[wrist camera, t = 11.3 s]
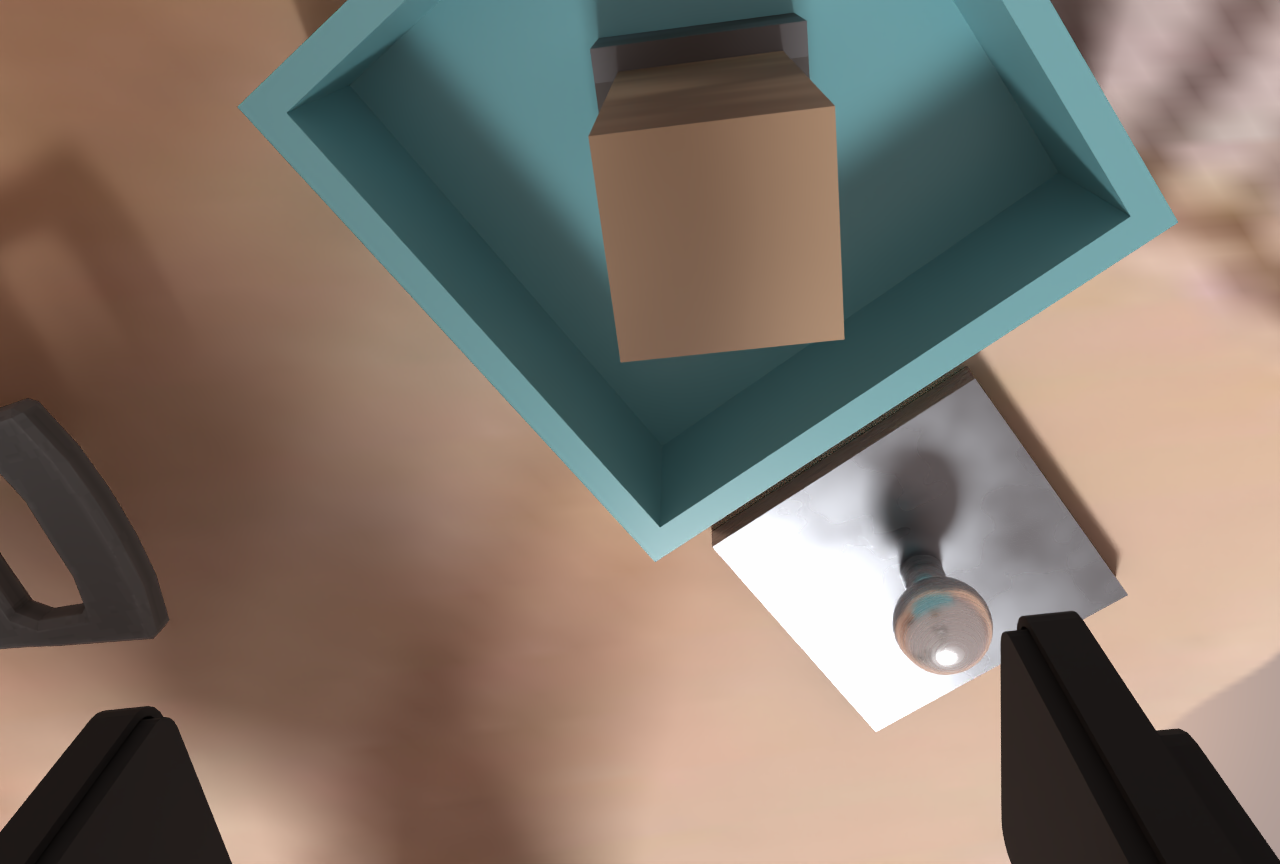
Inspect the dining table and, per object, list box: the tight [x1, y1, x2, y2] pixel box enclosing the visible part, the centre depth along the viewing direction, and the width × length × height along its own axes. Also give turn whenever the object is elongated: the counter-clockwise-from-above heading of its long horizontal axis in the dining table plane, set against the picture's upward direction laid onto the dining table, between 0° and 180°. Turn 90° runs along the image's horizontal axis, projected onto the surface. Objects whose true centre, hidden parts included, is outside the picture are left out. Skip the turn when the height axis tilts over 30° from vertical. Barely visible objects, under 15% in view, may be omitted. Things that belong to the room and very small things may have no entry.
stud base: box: [712, 366, 1128, 731], centre depth 33 cm, size 10×10×6 cm
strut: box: [588, 13, 844, 363], centre depth 23 cm, size 5×5×12 cm
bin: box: [238, 0, 1178, 562], centre depth 26 cm, size 16×16×6 cm
